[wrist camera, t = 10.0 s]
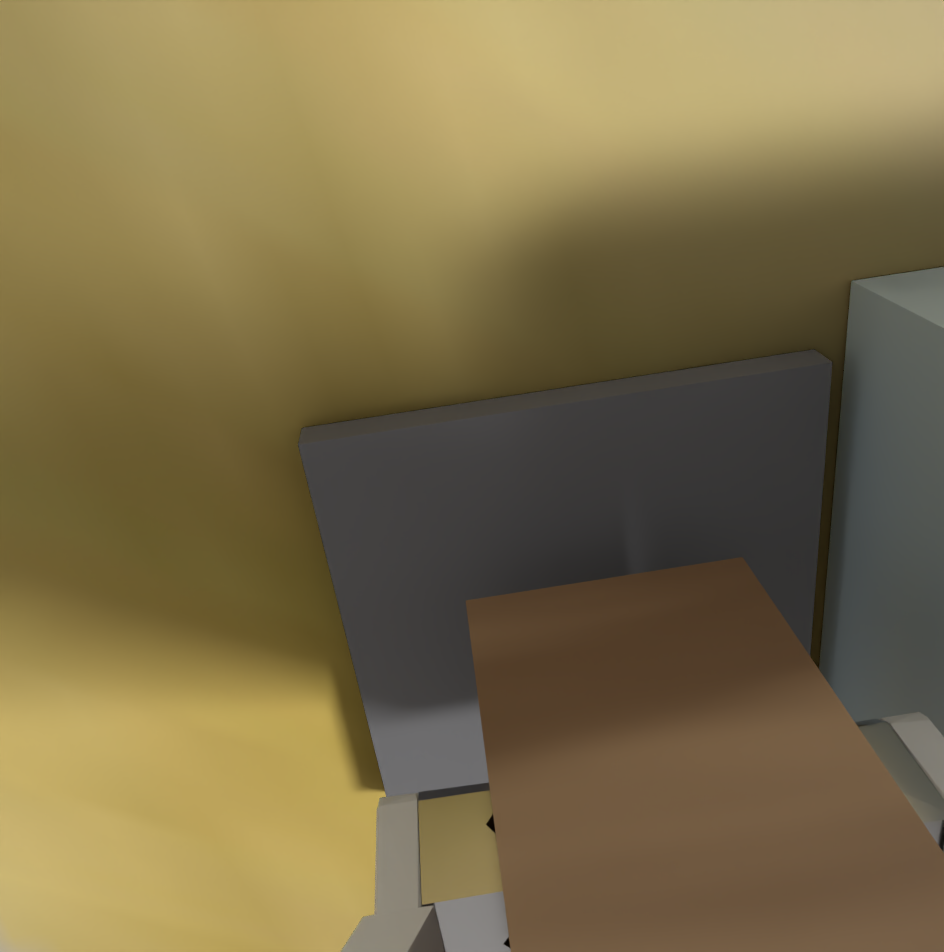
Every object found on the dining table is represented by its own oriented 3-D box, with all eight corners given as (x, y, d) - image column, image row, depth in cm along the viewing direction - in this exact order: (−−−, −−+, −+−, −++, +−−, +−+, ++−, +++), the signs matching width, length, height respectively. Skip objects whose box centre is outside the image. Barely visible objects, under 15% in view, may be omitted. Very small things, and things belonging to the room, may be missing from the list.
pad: (302, 428, 13) (297, 444, 12) (814, 349, 13) (832, 362, 12) (391, 793, 17) (391, 818, 16) (789, 729, 17) (803, 752, 16)
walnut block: (465, 600, 12) (524, 1049, 7) (742, 556, 12) (1021, 967, 7) (498, 797, 14) (564, 1271, 8) (737, 758, 14) (953, 1206, 8)
